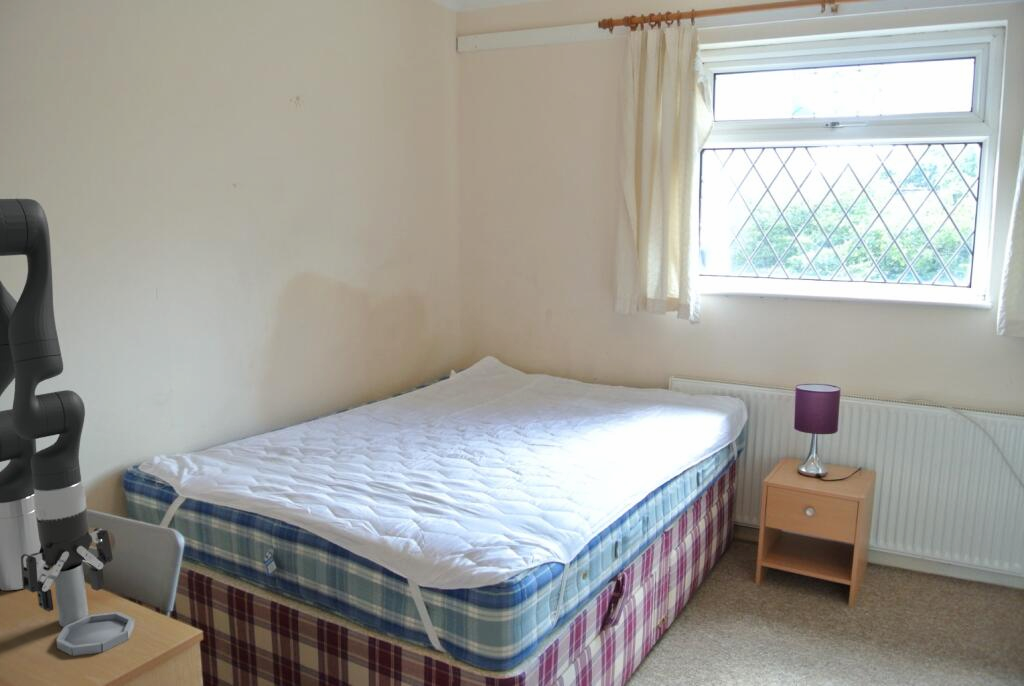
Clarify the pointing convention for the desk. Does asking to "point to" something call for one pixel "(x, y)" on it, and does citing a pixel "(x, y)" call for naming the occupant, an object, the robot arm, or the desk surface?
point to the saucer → (95, 633)
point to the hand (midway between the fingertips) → (72, 599)
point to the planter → (71, 595)
